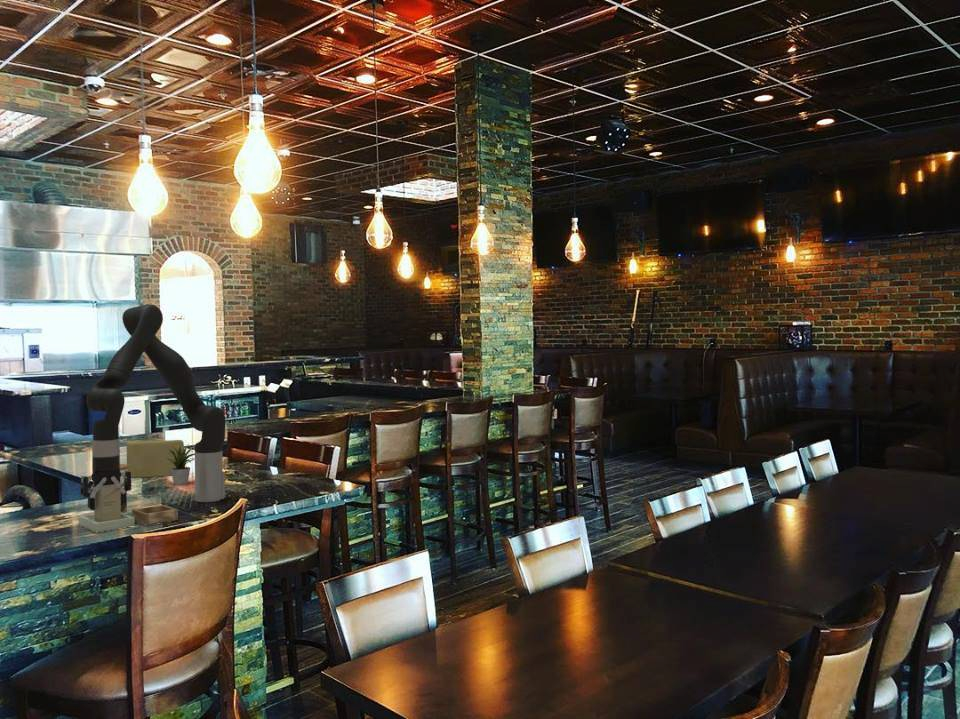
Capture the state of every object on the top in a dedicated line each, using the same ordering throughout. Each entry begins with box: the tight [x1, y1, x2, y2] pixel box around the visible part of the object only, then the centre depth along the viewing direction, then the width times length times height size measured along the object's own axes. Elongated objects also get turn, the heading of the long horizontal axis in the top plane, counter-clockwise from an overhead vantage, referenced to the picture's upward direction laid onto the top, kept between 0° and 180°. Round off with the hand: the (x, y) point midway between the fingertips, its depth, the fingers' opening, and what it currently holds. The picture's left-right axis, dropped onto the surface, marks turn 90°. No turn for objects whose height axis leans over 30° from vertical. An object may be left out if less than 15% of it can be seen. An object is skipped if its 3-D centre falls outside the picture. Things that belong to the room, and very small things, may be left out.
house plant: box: [166, 443, 195, 486], centre depth 300 cm, size 14×14×16 cm
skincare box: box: [93, 484, 122, 523], centre depth 233 cm, size 6×4×12 cm
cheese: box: [126, 439, 186, 479], centre depth 319 cm, size 22×10×15 cm, turn 95°
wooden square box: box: [131, 504, 179, 527], centre depth 239 cm, size 10×10×4 cm
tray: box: [78, 512, 135, 534], centre depth 233 cm, size 11×14×3 cm
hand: (106, 507), depth 233 cm, fingers open, 8 cm apart
